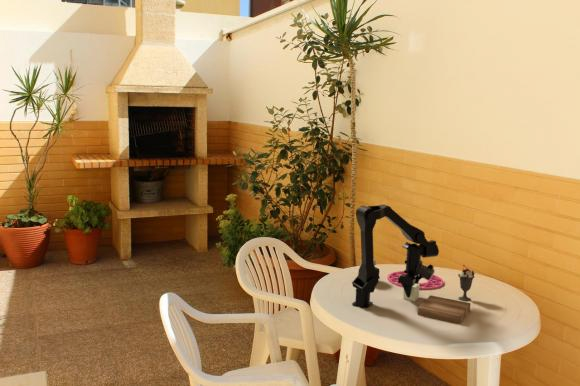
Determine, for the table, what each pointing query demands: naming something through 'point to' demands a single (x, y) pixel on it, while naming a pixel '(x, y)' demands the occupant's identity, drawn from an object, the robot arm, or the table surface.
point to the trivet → (426, 285)
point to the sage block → (413, 293)
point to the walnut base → (444, 309)
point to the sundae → (466, 282)
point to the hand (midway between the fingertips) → (411, 294)
